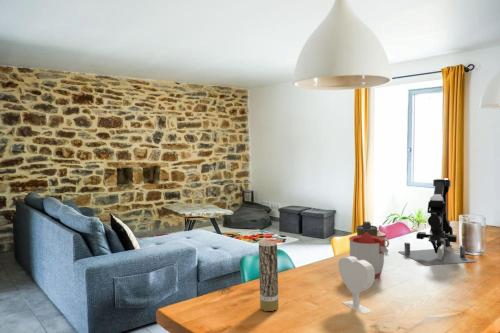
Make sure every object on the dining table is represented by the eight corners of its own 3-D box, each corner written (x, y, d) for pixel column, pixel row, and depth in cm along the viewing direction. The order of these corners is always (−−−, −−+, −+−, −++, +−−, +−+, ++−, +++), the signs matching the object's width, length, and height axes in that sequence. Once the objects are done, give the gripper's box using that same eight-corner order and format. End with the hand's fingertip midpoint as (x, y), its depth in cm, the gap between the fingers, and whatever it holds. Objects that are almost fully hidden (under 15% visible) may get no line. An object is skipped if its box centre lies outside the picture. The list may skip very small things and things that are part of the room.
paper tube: (267, 303, 154) (266, 239, 153) (282, 308, 150) (280, 241, 149) (256, 309, 149) (254, 243, 148) (271, 314, 145) (269, 245, 143)
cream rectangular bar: (441, 251, 218) (441, 241, 218) (444, 251, 217) (444, 242, 217) (437, 259, 203) (437, 249, 203) (441, 260, 202) (441, 249, 202)
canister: (380, 263, 203) (380, 223, 202) (359, 263, 203) (359, 224, 202) (374, 257, 213) (373, 219, 212) (354, 257, 214) (354, 220, 213)
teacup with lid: (365, 249, 228) (365, 229, 228) (375, 247, 234) (375, 227, 233) (383, 254, 219) (383, 232, 218) (393, 251, 224) (393, 230, 223)
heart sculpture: (376, 312, 144) (376, 263, 143) (366, 315, 141) (365, 265, 140) (347, 298, 157) (346, 253, 156) (337, 301, 155) (336, 255, 154)
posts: (448, 251, 221) (448, 239, 220) (466, 258, 207) (466, 245, 206) (404, 254, 217) (404, 242, 216) (419, 261, 203) (419, 249, 202)
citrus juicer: (381, 284, 172) (381, 238, 171) (343, 276, 183) (343, 233, 182) (393, 274, 185) (393, 231, 184) (357, 268, 195) (356, 227, 194)
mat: (443, 249, 226) (443, 248, 226) (475, 262, 200) (475, 261, 200) (398, 252, 221) (398, 251, 221) (426, 265, 196) (426, 265, 196)
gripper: (415, 224, 205) (414, 254, 206) (455, 228, 196) (455, 259, 197) (418, 221, 215) (417, 249, 216) (457, 224, 205) (456, 254, 206)
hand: (436, 253), depth 208 cm, fingers closed
